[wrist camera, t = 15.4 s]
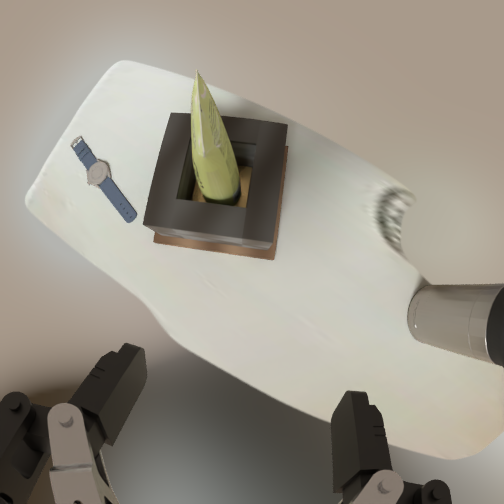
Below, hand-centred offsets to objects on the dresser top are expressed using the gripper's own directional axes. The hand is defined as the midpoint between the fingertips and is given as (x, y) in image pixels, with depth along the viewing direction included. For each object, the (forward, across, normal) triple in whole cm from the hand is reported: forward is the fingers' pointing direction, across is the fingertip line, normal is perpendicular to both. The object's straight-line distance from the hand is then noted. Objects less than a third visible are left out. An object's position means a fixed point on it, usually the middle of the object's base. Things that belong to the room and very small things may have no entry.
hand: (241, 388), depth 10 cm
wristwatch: (+31, +28, 0) cm, 41 cm away
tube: (+29, +7, -1) cm, 30 cm away
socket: (+31, +8, 0) cm, 32 cm away
